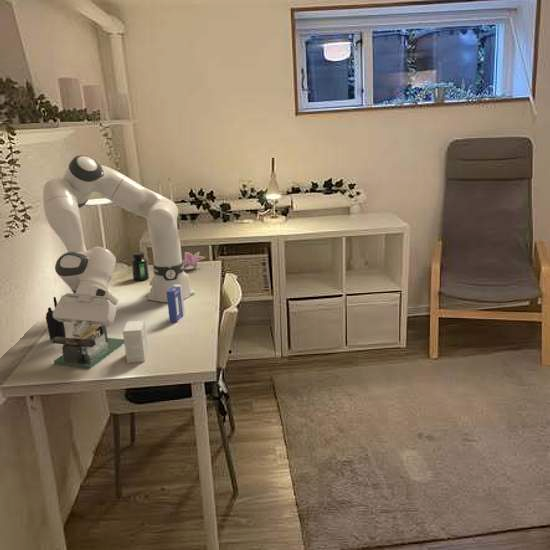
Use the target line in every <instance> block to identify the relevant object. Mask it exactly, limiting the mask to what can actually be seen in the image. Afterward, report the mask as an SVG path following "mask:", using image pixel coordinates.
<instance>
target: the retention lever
mask: <svg viewBox="0 0 550 550" xmlns="http://www.w3.org/2000/svg"><path fill="white" fill-rule="evenodd" d="M99 326H100V325H93V324H91V325H89V327H88V328H87V329H86V330H85V331H84V332H83V335H82V337H78V336H72V337H67V336H66V337H57V336H56V337H55V338H53V339H52V344H56V345H57V344H58V345H63V344H64V345H73V346H82V347H93V346H94V345H96V344H95V340H86V339H87V338H89V337H90V336H92V335H93V334H94V335H96V334H97V333H98V332H100V329H99Z"/></svg>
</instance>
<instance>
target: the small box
mask: <svg viewBox="0 0 550 550" xmlns="http://www.w3.org/2000/svg"><path fill="white" fill-rule="evenodd" d="M122 335H123V339H124V344H123V345H124V349H125V357H126V363H127V364H130V363H140V362H141V363H142V362H145V361H146V359H147V355H148V353H149V344H148V337H147V336H148V335H147V329H146V321H145V320H135V321H134V320H133V321H127V322H126V324H125V326H124V328H123V331H122Z"/></svg>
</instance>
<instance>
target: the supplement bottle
mask: <svg viewBox="0 0 550 550" xmlns="http://www.w3.org/2000/svg"><path fill="white" fill-rule="evenodd" d="M130 264H131V270H132V276H133V281H134V282H145V281H147V280H149V278H150V274H149V267H148V265H149V264H148V259H146V258H145V253H144V252H142V251H139V252H134V253H132V260H131V263H130Z"/></svg>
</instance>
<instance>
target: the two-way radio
mask: <svg viewBox="0 0 550 550" xmlns="http://www.w3.org/2000/svg"><path fill="white" fill-rule="evenodd" d="M52 298H53V305H54V308H55V307H56V306H57V304H58V302H57V298H56V296H53V297H52ZM53 312H54V310H52V308H51V307H47V312H46V314H45V320H46V326H47V331H48V335H49V339H50V340H52V339H53V338H55V337H56V336H57V337H67V336H66V327H65V322H59V321H57V320H56V319H54V318H53Z"/></svg>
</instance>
